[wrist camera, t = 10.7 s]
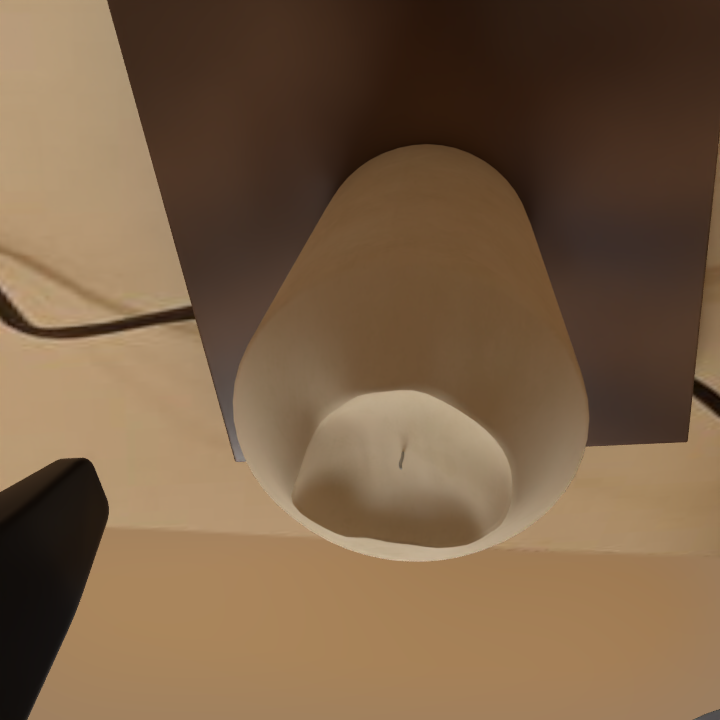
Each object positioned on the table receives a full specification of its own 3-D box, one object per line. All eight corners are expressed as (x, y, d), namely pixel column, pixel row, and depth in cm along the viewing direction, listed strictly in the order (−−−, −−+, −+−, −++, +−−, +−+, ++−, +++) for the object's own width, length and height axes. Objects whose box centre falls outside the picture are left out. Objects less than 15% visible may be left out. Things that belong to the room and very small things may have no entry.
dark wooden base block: (668, 406, 22) (688, 442, 20) (250, 428, 24) (234, 462, 22) (714, -122, 15) (749, -137, 13) (135, -21, 17) (99, -22, 16)
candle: (339, 347, 20) (251, 632, 11) (304, 156, 17) (153, 327, 8) (533, 331, 19) (605, 630, 10) (526, 126, 16) (614, 285, 7)
